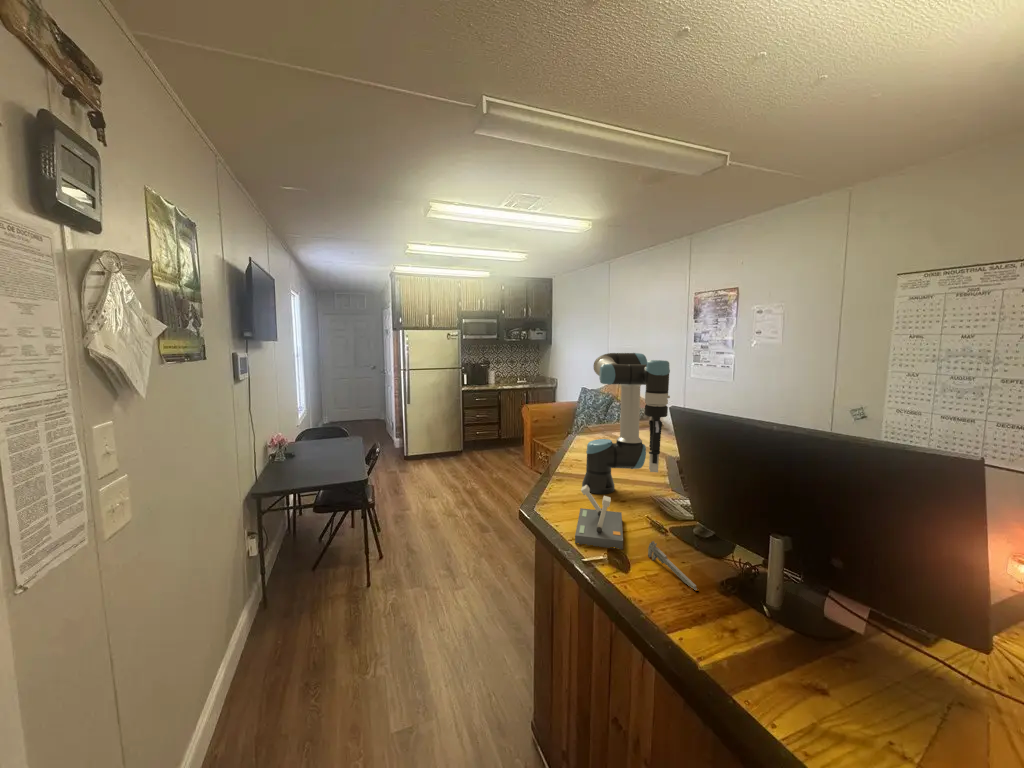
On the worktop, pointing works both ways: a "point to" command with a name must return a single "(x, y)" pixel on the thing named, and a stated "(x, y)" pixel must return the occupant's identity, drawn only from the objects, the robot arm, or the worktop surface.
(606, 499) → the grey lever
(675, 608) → the worktop surface
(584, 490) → the lever
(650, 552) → the caliper
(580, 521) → the panel
